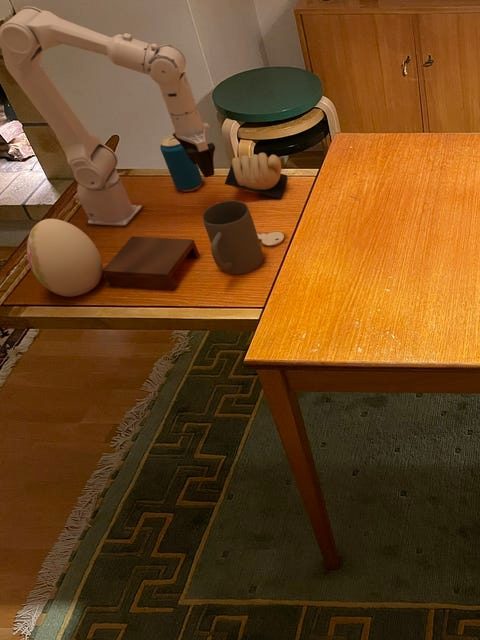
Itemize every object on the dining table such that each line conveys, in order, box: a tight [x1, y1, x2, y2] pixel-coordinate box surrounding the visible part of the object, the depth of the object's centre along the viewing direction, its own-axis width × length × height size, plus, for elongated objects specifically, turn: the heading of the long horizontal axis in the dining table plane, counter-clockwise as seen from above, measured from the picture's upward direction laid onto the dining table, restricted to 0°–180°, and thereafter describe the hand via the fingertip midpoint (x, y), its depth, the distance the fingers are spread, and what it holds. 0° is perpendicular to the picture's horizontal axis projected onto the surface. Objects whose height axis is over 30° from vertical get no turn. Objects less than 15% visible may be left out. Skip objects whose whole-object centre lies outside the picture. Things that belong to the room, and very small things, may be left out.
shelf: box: [102, 236, 200, 291], centre depth 147 cm, size 14×12×4 cm
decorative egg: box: [26, 218, 103, 298], centre depth 141 cm, size 12×12×15 cm
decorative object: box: [224, 152, 288, 200], centre depth 166 cm, size 13×10×10 cm
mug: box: [202, 200, 264, 275], centre depth 143 cm, size 14×9×12 cm
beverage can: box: [160, 134, 203, 193], centre depth 168 cm, size 6×6×12 cm
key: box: [257, 231, 285, 247], centre depth 155 cm, size 11×1×5 cm
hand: (203, 168), depth 157 cm, fingers open, 7 cm apart
